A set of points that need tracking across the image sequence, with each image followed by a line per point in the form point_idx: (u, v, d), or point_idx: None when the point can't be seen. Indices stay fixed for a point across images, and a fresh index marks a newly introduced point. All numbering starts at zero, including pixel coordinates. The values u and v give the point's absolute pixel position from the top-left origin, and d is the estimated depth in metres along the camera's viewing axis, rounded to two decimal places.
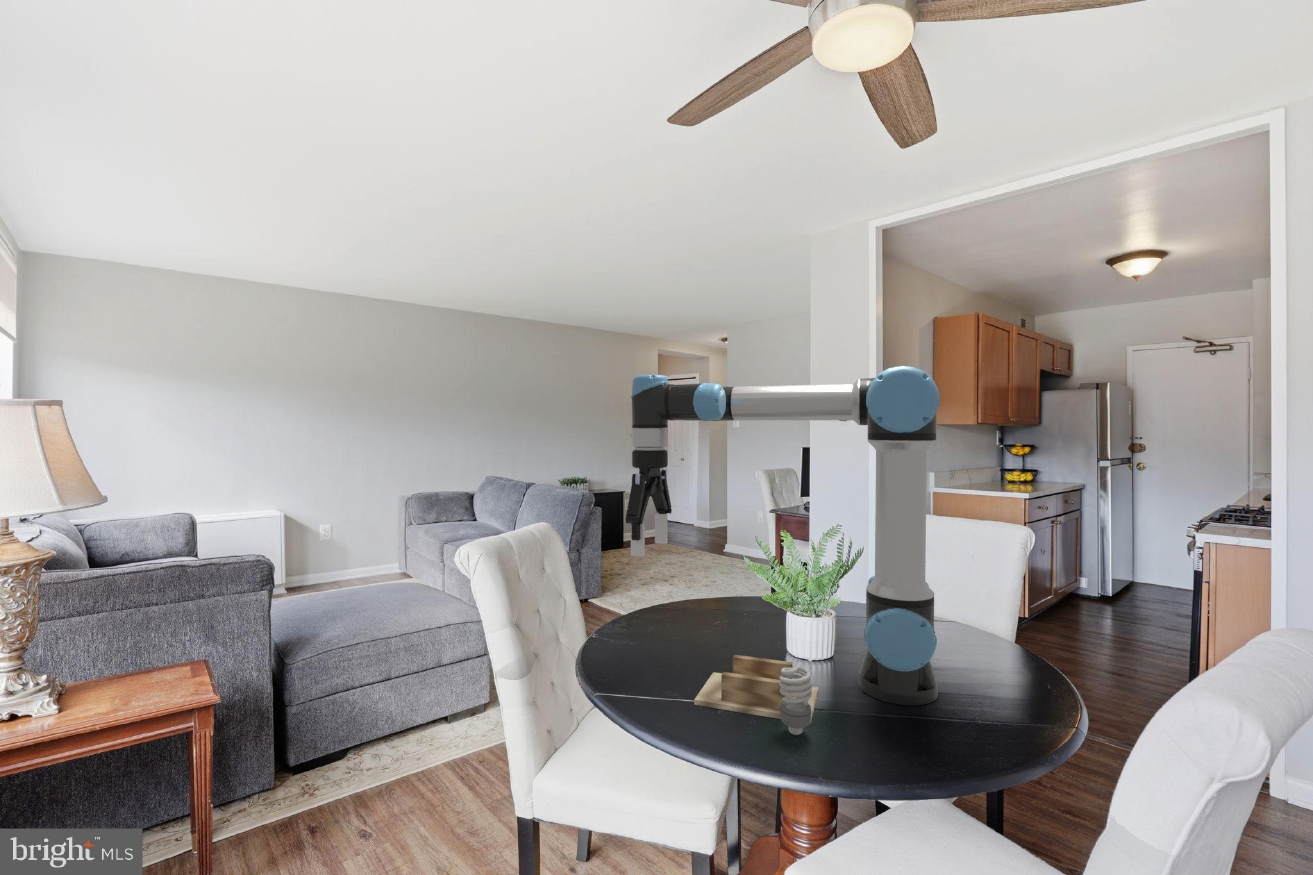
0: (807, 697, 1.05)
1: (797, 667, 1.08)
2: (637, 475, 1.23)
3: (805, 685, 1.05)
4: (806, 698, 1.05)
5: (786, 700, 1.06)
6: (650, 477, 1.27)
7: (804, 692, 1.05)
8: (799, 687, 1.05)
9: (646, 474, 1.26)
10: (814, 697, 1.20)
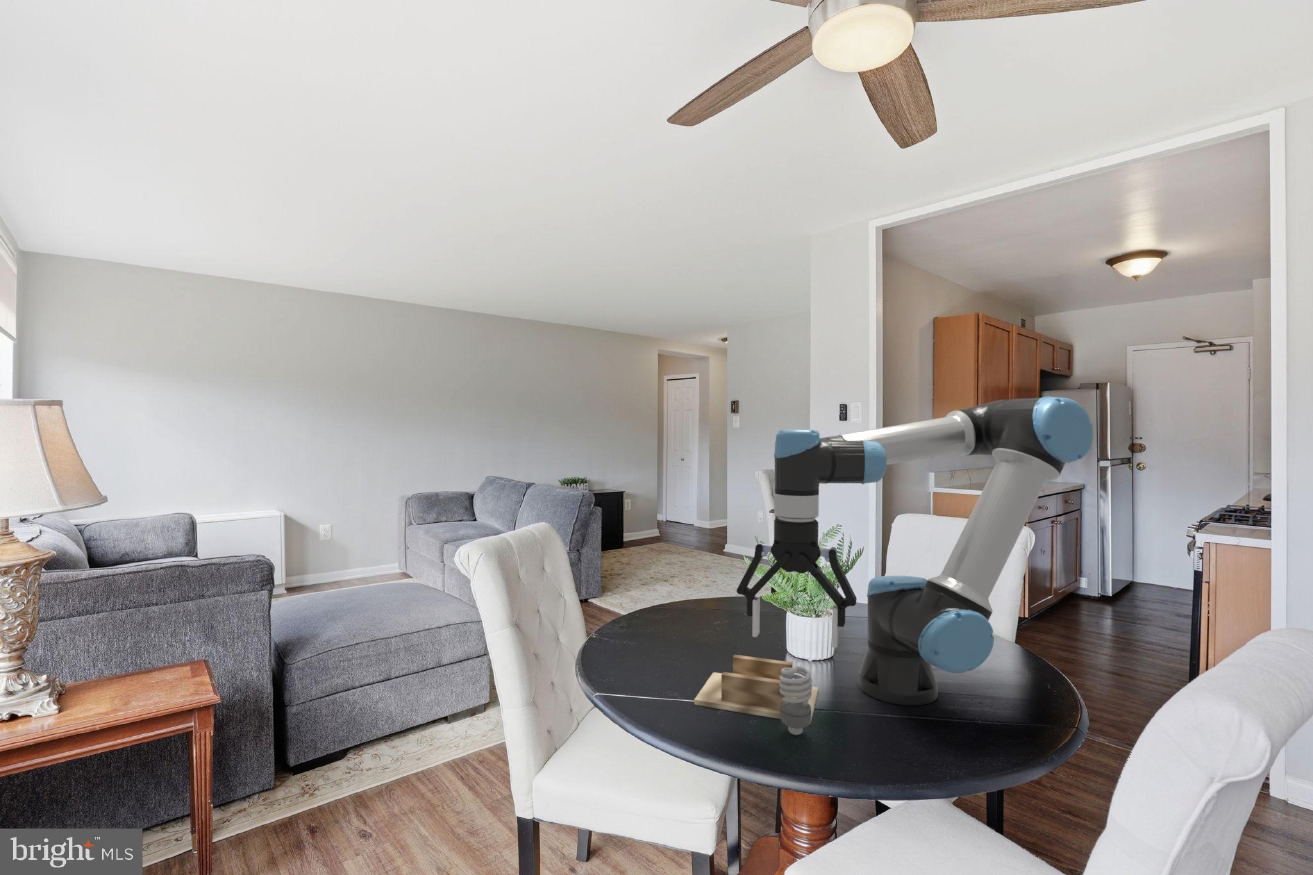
0: (807, 697, 1.05)
1: (797, 667, 1.08)
2: (757, 544, 1.09)
3: (805, 685, 1.05)
4: (806, 698, 1.05)
5: (786, 700, 1.06)
6: (780, 551, 1.07)
7: (804, 692, 1.05)
8: (799, 687, 1.05)
9: (772, 546, 1.08)
10: (814, 697, 1.20)
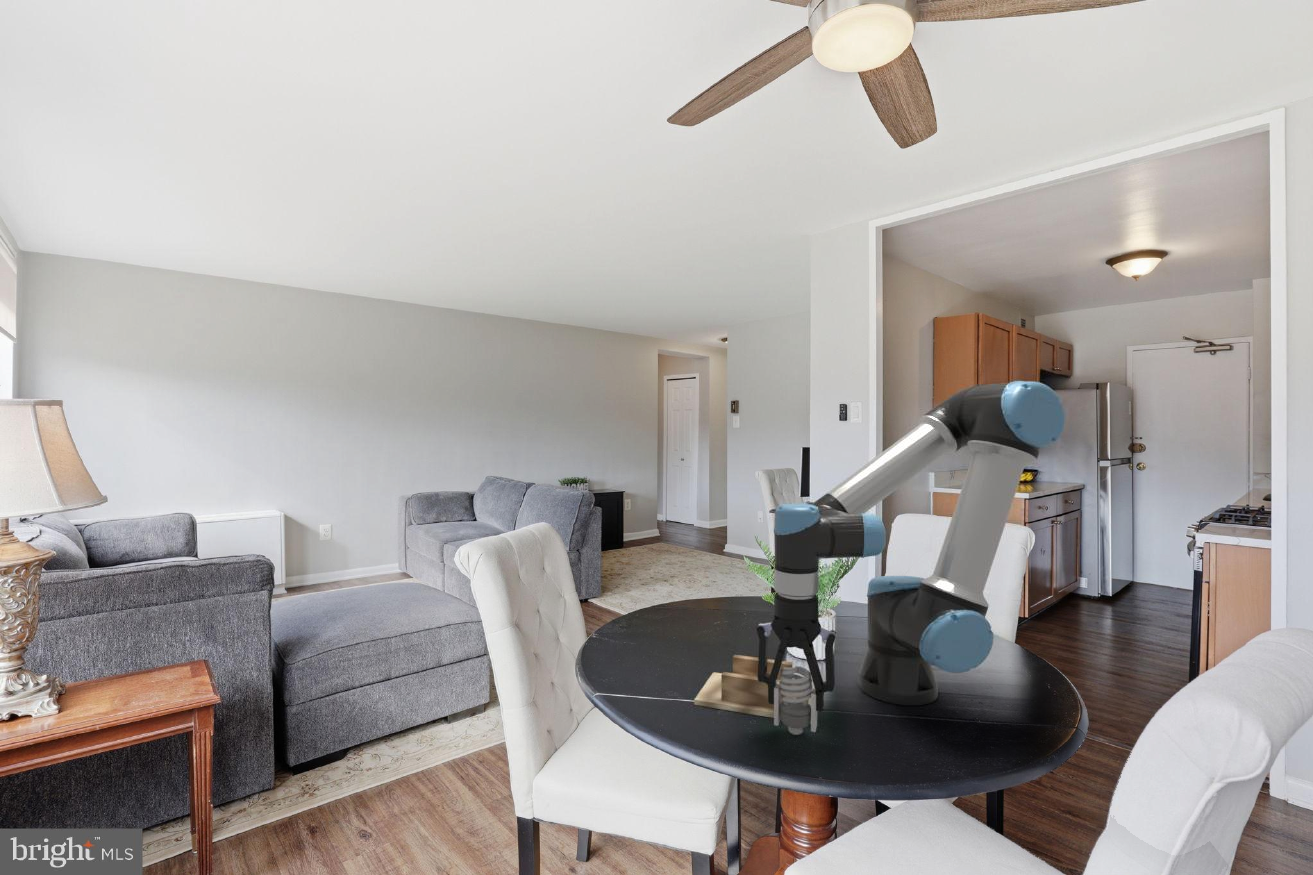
0: (807, 697, 1.05)
1: (797, 667, 1.08)
2: None
3: (805, 685, 1.05)
4: (806, 698, 1.05)
5: (786, 700, 1.06)
6: (780, 625, 1.07)
7: (804, 692, 1.05)
8: (799, 687, 1.05)
9: (771, 623, 1.08)
10: None
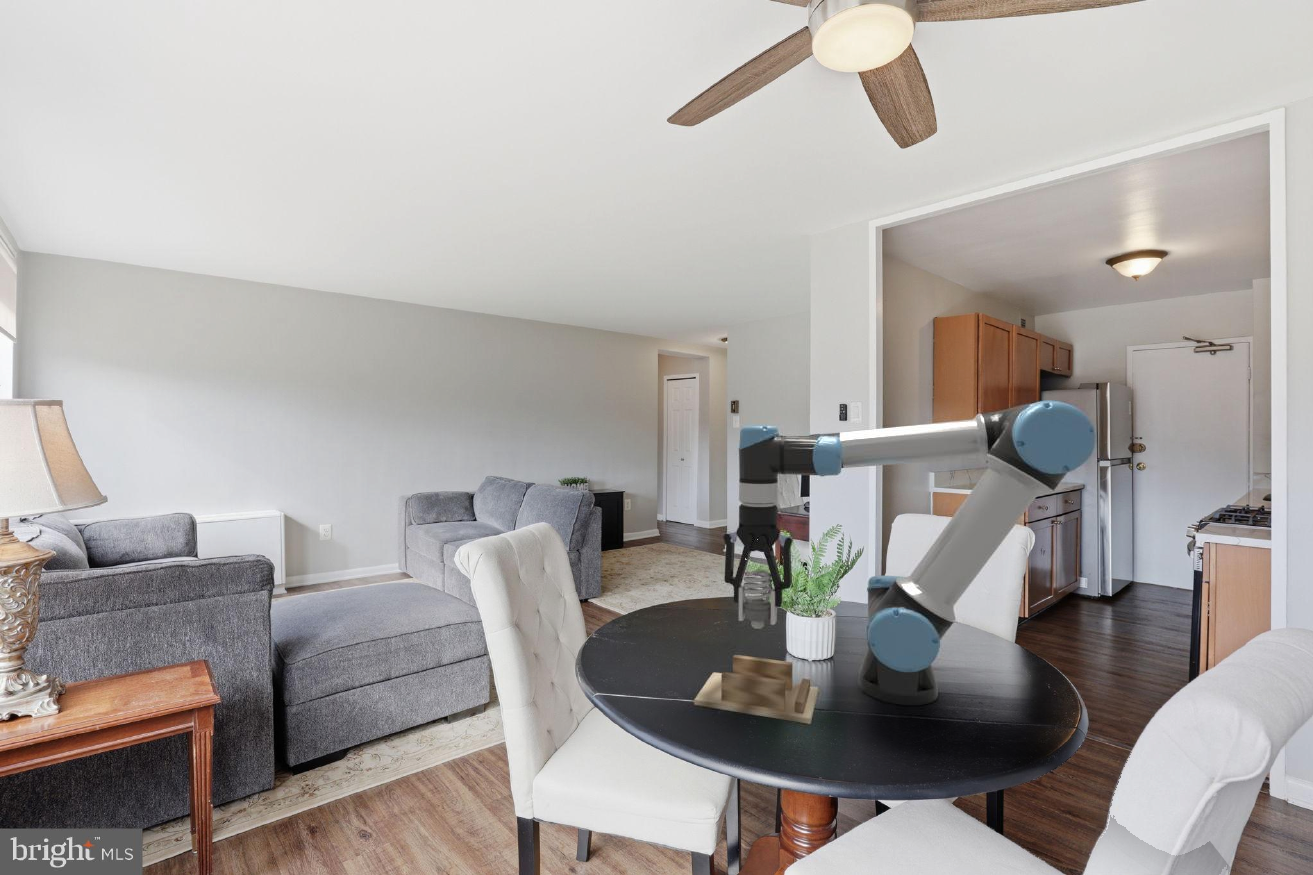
0: (767, 594, 1.20)
1: (759, 569, 1.22)
2: None
3: (765, 583, 1.19)
4: (766, 595, 1.19)
5: (749, 597, 1.20)
6: (744, 532, 1.21)
7: (764, 589, 1.19)
8: (760, 585, 1.19)
9: None
10: (814, 697, 1.20)
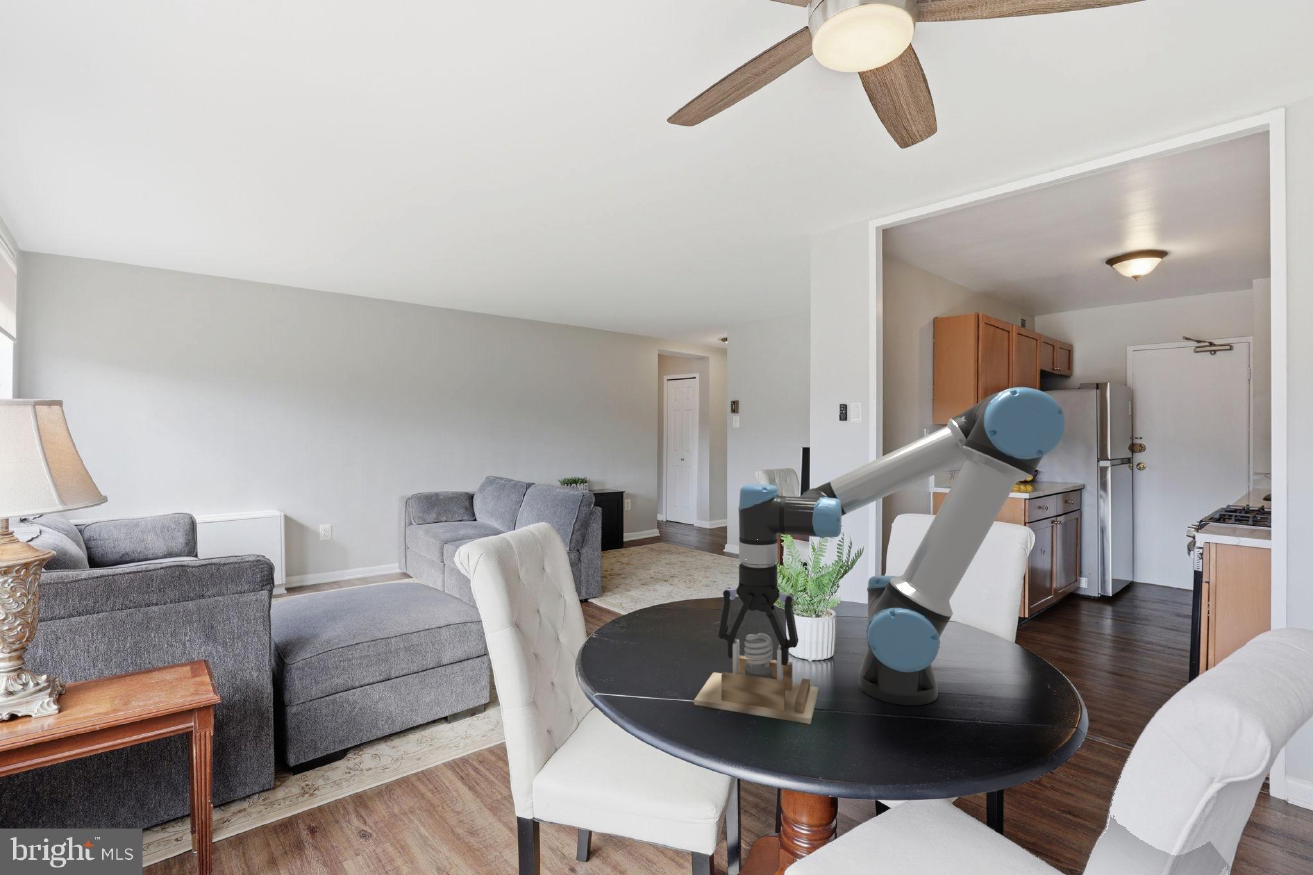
0: (768, 659, 1.20)
1: (760, 633, 1.22)
2: None
3: (766, 649, 1.19)
4: (767, 660, 1.20)
5: (749, 662, 1.20)
6: (744, 591, 1.21)
7: (765, 655, 1.19)
8: (760, 650, 1.19)
9: (737, 589, 1.22)
10: (814, 697, 1.20)
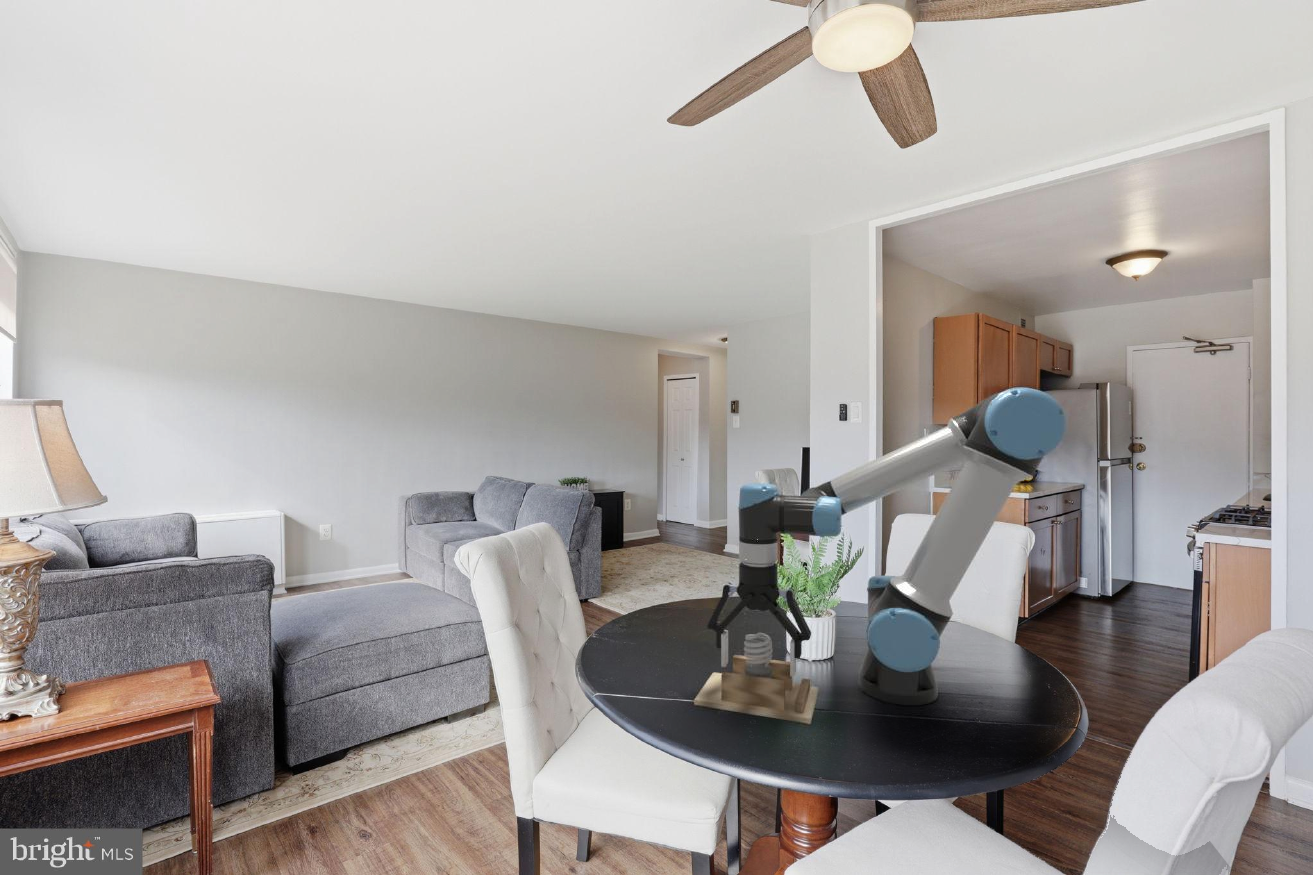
0: (767, 659, 1.20)
1: (759, 633, 1.22)
2: None
3: (765, 648, 1.19)
4: (766, 660, 1.20)
5: (749, 662, 1.20)
6: (744, 591, 1.21)
7: (765, 654, 1.19)
8: (760, 650, 1.19)
9: (737, 587, 1.22)
10: (814, 697, 1.20)
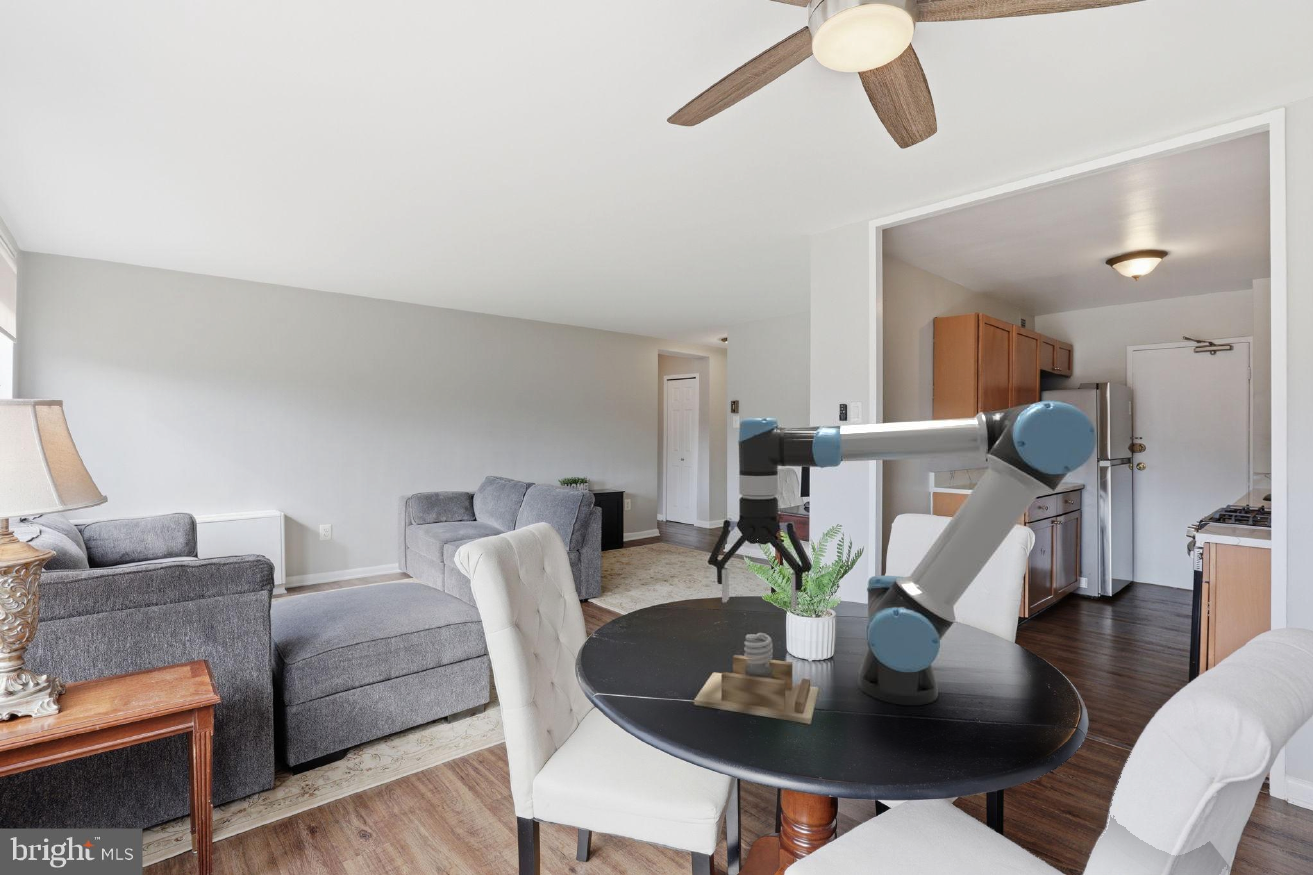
0: (768, 659, 1.20)
1: (760, 633, 1.22)
2: None
3: (766, 648, 1.19)
4: (767, 660, 1.20)
5: (749, 662, 1.20)
6: (745, 525, 1.21)
7: (765, 655, 1.19)
8: (760, 650, 1.19)
9: (738, 521, 1.22)
10: (814, 697, 1.20)
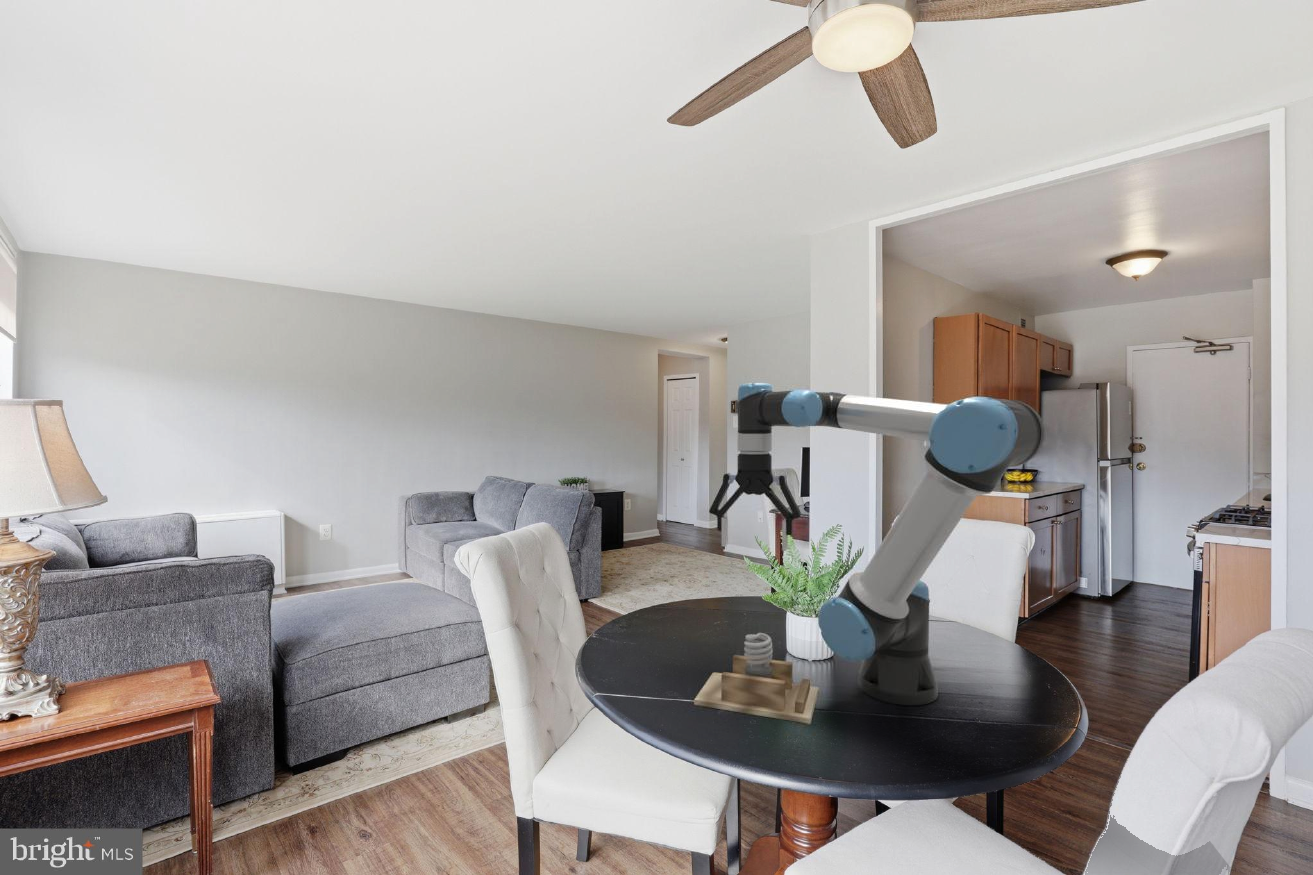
0: (768, 659, 1.20)
1: (759, 633, 1.22)
2: None
3: (766, 648, 1.19)
4: (767, 660, 1.20)
5: (749, 662, 1.20)
6: (742, 478, 1.37)
7: (765, 655, 1.19)
8: (760, 650, 1.19)
9: (736, 475, 1.38)
10: (814, 697, 1.20)
